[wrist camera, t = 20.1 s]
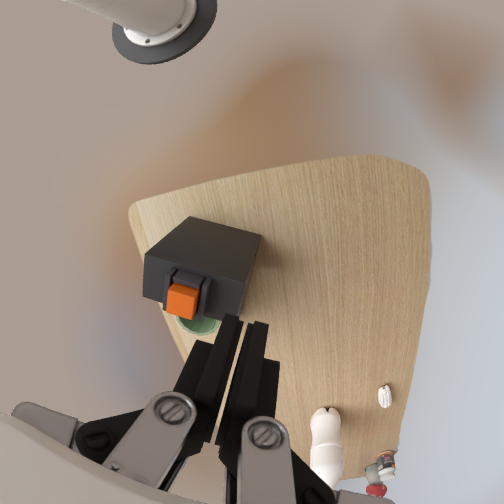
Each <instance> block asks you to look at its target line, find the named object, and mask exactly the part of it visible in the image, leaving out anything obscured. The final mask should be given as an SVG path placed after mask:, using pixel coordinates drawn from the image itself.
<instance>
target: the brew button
mask: <svg viewBox="0 0 504 504" xmlns="http://www.w3.org/2000/svg"><path fill="white" fill-rule="evenodd" d="M200 289H201V288H199V289H196V288H192V287H189V286H186V285H182V284H179V283H176V282H174V283H173V284H172V286H171V287H170V288H169V290H168V297H167V309H166V312H168V313H171V314H174V315H177V316H180V317H183V318H186V319H189V320H192V318H193V316H194V315H195V313H196V311H197V308H198V301H199V295H200Z"/></svg>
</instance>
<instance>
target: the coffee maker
mask: <svg viewBox="0 0 504 504" xmlns="http://www.w3.org/2000/svg"><path fill="white" fill-rule="evenodd" d="M260 236H261V235H259V234H255V233H251V232H248V231H244V230H240V229H236V228H233V227H229V226H225V225H221V224H217V223H213V222H210V221H206V220H202V219H198V218H194V217H190V216H189V217H188V218H187V219H185V220H184V221H183V222H182V223H181V224H179V225H178V226H177V227H176V228H175V229H173V230H172V231H171V232H170V233H169V234H167V235H166V236H165V237H164V238H163V239H161V240H160V241H159V242H158V243H157V244H156V245H154V246H153V247H152V248H151V249H150V250H149V251H148V252H146V253H145V258H144V274H143V297H146V298H149V299H152V300H155V301H158V302H161V303H163V310H165V311H166V309H167V297H168V290H169V288H170V287H171V286H172V284H173V283H174V282H176V283H179V284H182V285H186V286H189V287H192V288H196V289H199V288H201V289H200V295H199V301H198V308H197V311H196V313H195V315H194V316H193V318H192V320H194V319H195V317H196V315H197V314H198V315H197V321H199V322H202V320H203V318H204V316H205V317H209V318H212V319H216V320H219V321H223V318H224V315H225V313H229V314H232V315H236V316H240V313H241V309H242V305H243V301H244V297H245V294H246V290H247V286H248V282H249V278H250V275H251V271H252V267H253V263H254V259H255V255H256V252H257V248H258V244H259V240H260Z"/></svg>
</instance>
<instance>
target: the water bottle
mask: <svg viewBox="0 0 504 504" xmlns="http://www.w3.org/2000/svg"><path fill="white" fill-rule="evenodd" d="M340 426H341V419H340V415H339V413H338V411H337V410H336V409H334V408H332V407H331V408H330V409H329V410H328V412H327V411H326V409H325V408H324V407H322V408H319V409H318V410H317V411H316V412H315V413H314V414H313V415H312V417H311V430H312V438H313V439H312V447H311V451H310V454H311V464H310V468H311V469H312V470H313V471H314V472H315V473H316V474H317V475H318V476H319V477H320V478H321V479H322V480H323V481H324V482H325V483H326V484H328V485H329V486H330V488H331V489H332V490H335V487H336V485H337V483H338V482H339V480H340V478H341V476H342V474H343V470H344V466H343V454H342V450H343V447H342V444H341V441H340Z"/></svg>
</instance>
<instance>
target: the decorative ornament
mask: <svg viewBox="0 0 504 504" xmlns="http://www.w3.org/2000/svg"><path fill="white" fill-rule="evenodd" d="M365 471H366V478H367V480H368V483H369V484H370V485H368V486H367V487H366V492H367V494H368V495H370V496H376V497H383V496H384V495H385V493H386V491H387V487H386V486H385V485H383V482H382V481H380V477H381V476H380V475H379V474H378V469H377V464H373V465H370V466H368V467H366V469H365Z"/></svg>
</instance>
